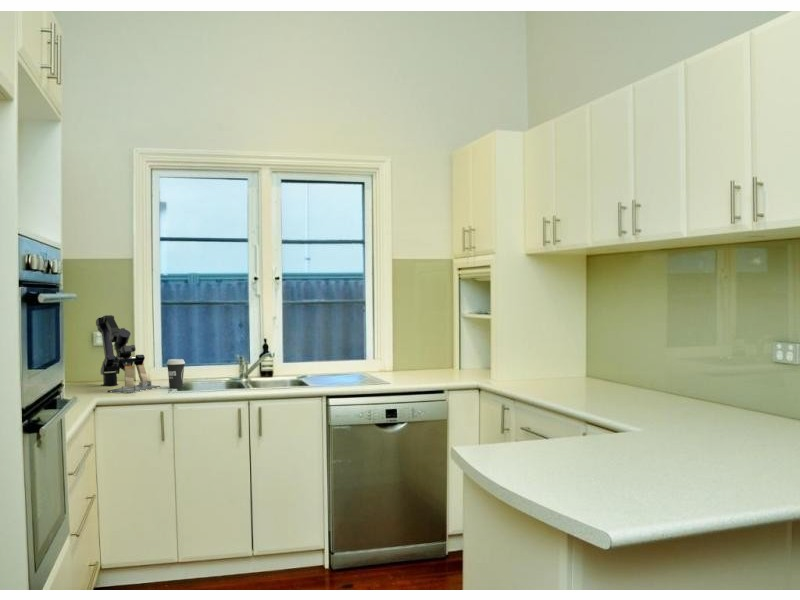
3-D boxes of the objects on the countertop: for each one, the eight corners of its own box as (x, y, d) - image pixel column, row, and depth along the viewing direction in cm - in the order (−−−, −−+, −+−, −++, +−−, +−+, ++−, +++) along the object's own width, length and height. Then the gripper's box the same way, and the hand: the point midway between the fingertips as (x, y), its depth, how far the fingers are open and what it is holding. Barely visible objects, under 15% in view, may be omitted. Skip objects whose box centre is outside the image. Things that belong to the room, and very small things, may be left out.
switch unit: (107, 392, 341) (107, 385, 341) (139, 386, 362) (139, 380, 362) (129, 393, 336) (129, 387, 336) (160, 387, 357) (160, 381, 357)
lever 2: (140, 383, 355) (135, 364, 356) (146, 382, 359) (140, 363, 360) (143, 382, 354) (137, 363, 355) (148, 381, 358) (143, 362, 359)
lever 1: (124, 386, 339) (124, 366, 339) (133, 385, 342) (132, 365, 342) (125, 387, 338) (125, 366, 338) (134, 386, 341) (133, 365, 341)
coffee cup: (170, 386, 360) (169, 358, 360) (187, 386, 360) (187, 358, 360) (163, 389, 351) (163, 360, 351) (182, 389, 351) (181, 360, 351)
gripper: (106, 340, 339) (112, 364, 330) (143, 339, 351) (150, 361, 342) (101, 355, 345) (108, 378, 337) (138, 353, 357) (145, 375, 348)
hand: (128, 373), depth 341 cm, fingers closed, pressing on lever 1
